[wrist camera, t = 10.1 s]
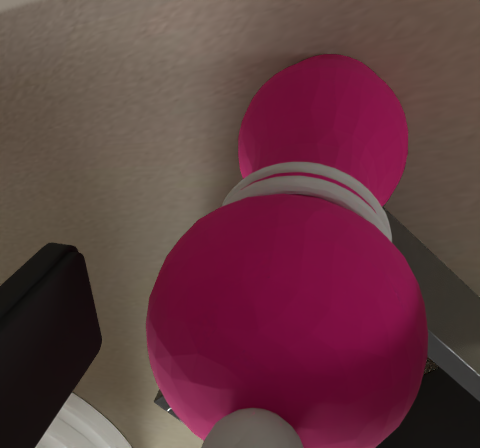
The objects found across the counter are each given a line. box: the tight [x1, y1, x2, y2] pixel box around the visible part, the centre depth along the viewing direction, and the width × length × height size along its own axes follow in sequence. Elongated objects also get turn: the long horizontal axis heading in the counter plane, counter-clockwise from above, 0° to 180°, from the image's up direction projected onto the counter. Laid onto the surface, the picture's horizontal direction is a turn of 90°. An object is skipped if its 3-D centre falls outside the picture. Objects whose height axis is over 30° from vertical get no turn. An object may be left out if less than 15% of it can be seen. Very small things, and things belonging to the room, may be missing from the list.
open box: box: [154, 207, 480, 448], centre depth 26 cm, size 15×15×8 cm
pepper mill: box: [146, 54, 428, 448], centre depth 15 cm, size 7×7×20 cm
